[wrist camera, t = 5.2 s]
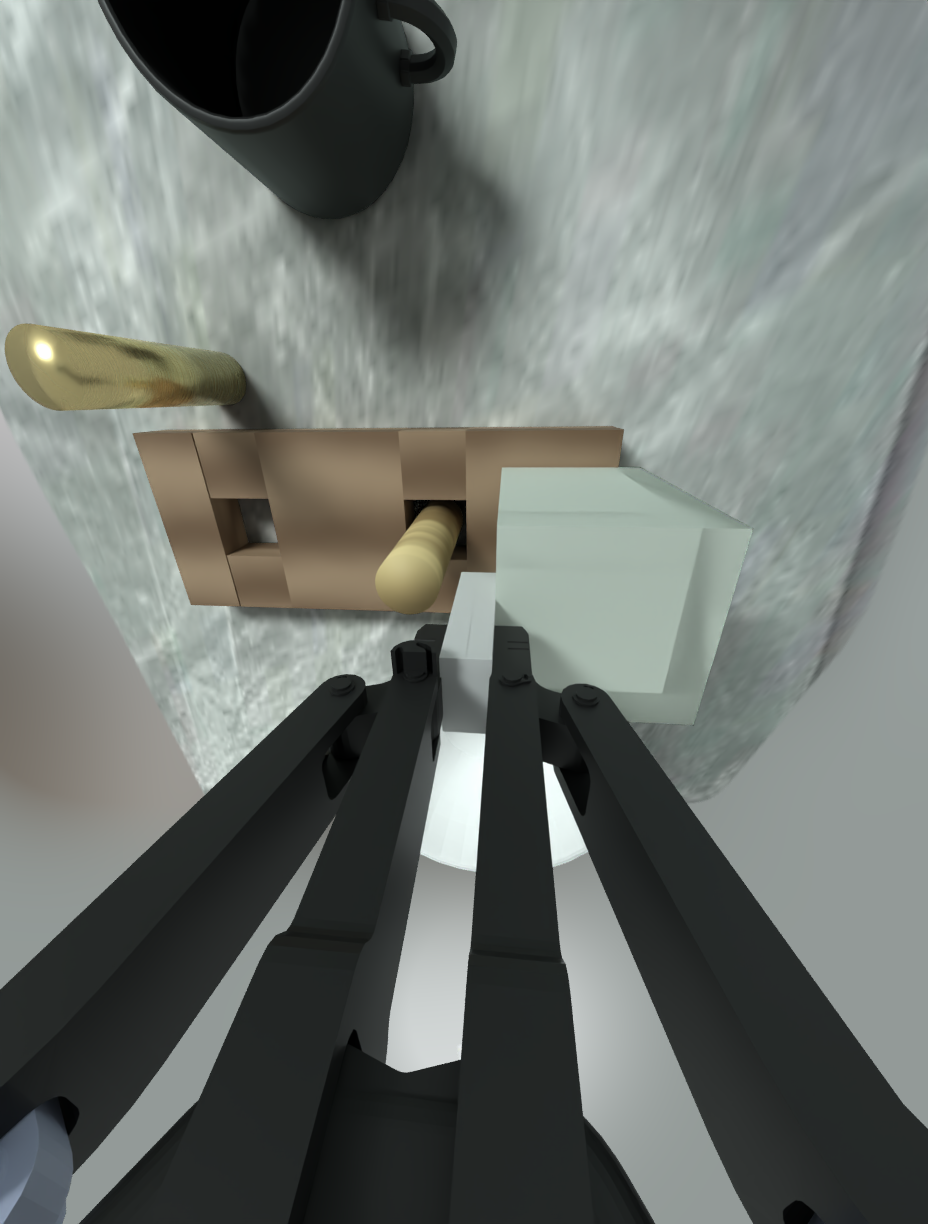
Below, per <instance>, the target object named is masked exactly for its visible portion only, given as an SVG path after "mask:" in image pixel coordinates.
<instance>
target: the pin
mask: <svg viewBox="0 0 928 1224" xmlns="http://www.w3.org/2000/svg"><path fill="white" fill-rule="evenodd" d="M5 356H6V360H7V364H8V366H9V369H10V371H11V373H12V375H13V377H14V379H15V380H16V382H17V383H18V385H19V386H20V387H21V388H22V390H23V391H24V392H25V393H26V394H27V395H28V396H29V397H30V398H32V399H33V400H34V401H36V402H37V403H39V404H40V405H42V406H44V407H46V408H49V409H52V410H59V411H64V410H93V409H122V408H151V407H180V406H209V405H232V404H236V403H238V402H239V401H240V400H241V399H242V398H243V396H244V394H245V391H246V379H245V375H244V373H243V370H242V368H241V367H240V365H239V364H238V363H237V362H236V360H235V359H233V358H232V357H231V356H229V355H227V354H225V353H222V352H215V351H209V350H202V349H195V348H189V347H182V346H175V345H169V344H162V343H155V342H148V341H142V340H135V339H128V338H122V337H115V336H108V335H102V334H95V333H88V332H81V331H75V330H68V329H61V328H55V327H48V326H41V325H35V324H20V325H17V326H15V327H14V328H12V329H11V330H10V332H9V333H8V335H7V337H6V341H5Z"/></svg>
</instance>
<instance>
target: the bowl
mask: <svg viewBox="0 0 928 1224" xmlns="http://www.w3.org/2000/svg"><path fill="white" fill-rule="evenodd" d="M440 740H441V745H440V750H439V756H438V761H437V766H436V771H435V777H434V782H433V787H432V793H431V798H430V803H429V808H428V814H427V819H426V824H425V830H424V835H423V840H422V845H421V851H420V854H422V855H424V856H426V857H428V858H430V859H433V860H435V861H437V862H440V863H443V864H446V865H449V866H452V867H455V868H459V869H464V870H470V871H475V872H476V864H477V850H478V835H479V821H480V806H481V792H482V777H483V763H484V748H485V734H479V733H461V732H443V730H442V724H441V729H440ZM543 769H544V780H545V791H546V802H547V813H548V823H549V834H550V845H551V856H552V866H553V867H555V866H558V865H561V864H564V863H567V862H570V861H572V860H574V859H576V858H578V857H579V856H581V855H583V854H585V853H587V852H588V850H587V848H586V845H585V843H584V840H583V838H582V836H581V833H580V831H579V829H578V826H577V824H576V822H575V819H574V817H573V815H572V812H571V810H570V808H569V805H568V803H567V801H566V798H565V796H564V794H563V791H562V789H561V787H560V784H559V782H558V780H557V777H556V775H555V773H554V768H553V765H551V764H548V763H545V762H543Z"/></svg>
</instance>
